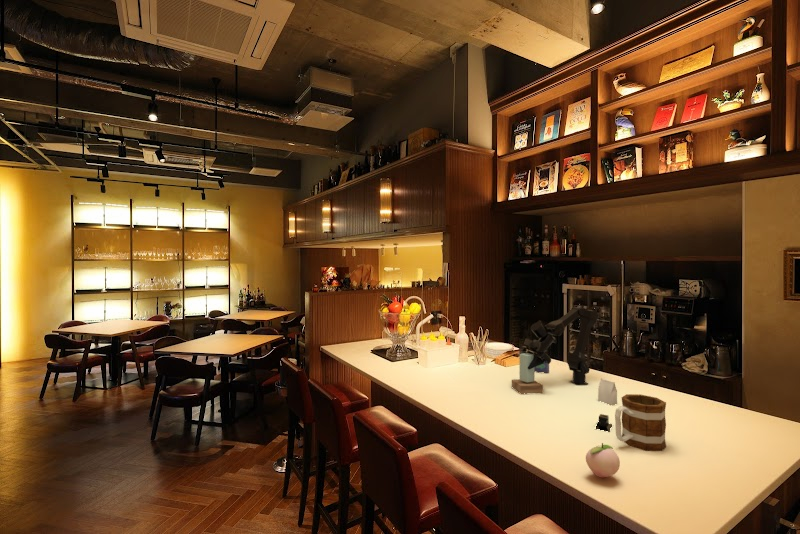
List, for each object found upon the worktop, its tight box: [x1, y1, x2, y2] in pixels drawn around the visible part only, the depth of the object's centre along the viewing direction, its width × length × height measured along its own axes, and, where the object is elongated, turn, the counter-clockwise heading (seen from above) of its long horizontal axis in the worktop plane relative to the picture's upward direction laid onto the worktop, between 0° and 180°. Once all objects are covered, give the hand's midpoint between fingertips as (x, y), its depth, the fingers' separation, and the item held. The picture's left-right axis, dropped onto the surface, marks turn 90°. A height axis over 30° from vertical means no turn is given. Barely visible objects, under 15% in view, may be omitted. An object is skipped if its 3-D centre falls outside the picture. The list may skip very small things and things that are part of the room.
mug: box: [614, 393, 667, 452], centre depth 141 cm, size 20×14×15 cm
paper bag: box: [597, 378, 618, 406], centre depth 185 cm, size 4×7×10 cm, turn 24°
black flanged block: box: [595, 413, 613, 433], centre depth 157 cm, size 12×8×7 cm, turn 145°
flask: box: [534, 361, 550, 374], centre depth 237 cm, size 9×3×11 cm, turn 61°
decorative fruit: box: [585, 442, 621, 479], centre depth 119 cm, size 9×8×10 cm
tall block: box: [518, 353, 536, 382], centre depth 202 cm, size 5×5×13 cm
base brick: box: [511, 378, 544, 395], centre depth 202 cm, size 11×11×4 cm
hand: (524, 367), depth 202 cm, fingers closed on tall block, 5 cm apart
